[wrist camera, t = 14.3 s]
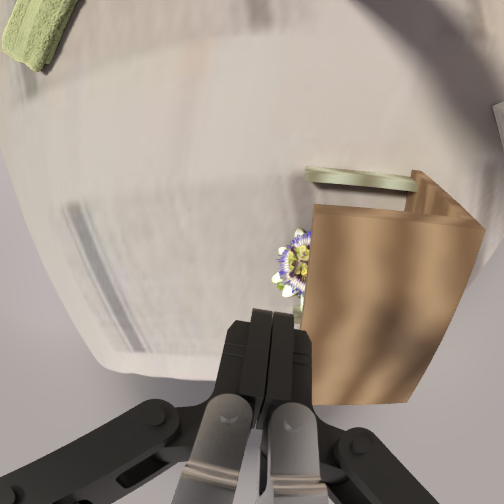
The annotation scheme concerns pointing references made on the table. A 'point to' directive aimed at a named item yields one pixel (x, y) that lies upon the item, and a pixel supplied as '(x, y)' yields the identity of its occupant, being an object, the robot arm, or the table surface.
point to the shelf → (382, 287)
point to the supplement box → (500, 119)
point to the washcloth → (36, 30)
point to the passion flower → (294, 266)
